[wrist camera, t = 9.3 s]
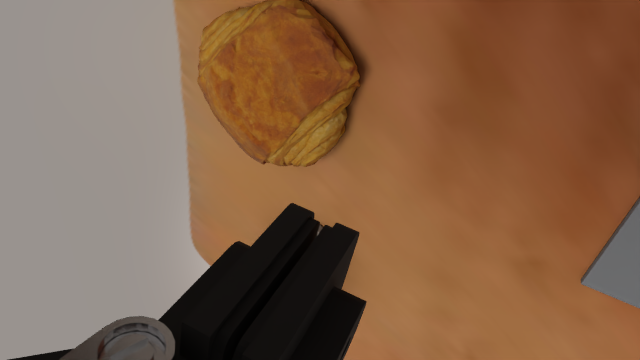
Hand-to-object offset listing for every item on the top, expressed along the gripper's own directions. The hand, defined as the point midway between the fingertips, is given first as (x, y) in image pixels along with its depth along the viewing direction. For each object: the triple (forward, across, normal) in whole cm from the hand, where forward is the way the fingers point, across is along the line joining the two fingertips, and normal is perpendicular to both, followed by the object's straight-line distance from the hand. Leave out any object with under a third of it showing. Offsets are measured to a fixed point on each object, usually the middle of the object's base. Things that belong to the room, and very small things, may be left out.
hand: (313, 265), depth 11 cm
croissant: (+32, +14, +10) cm, 36 cm away
